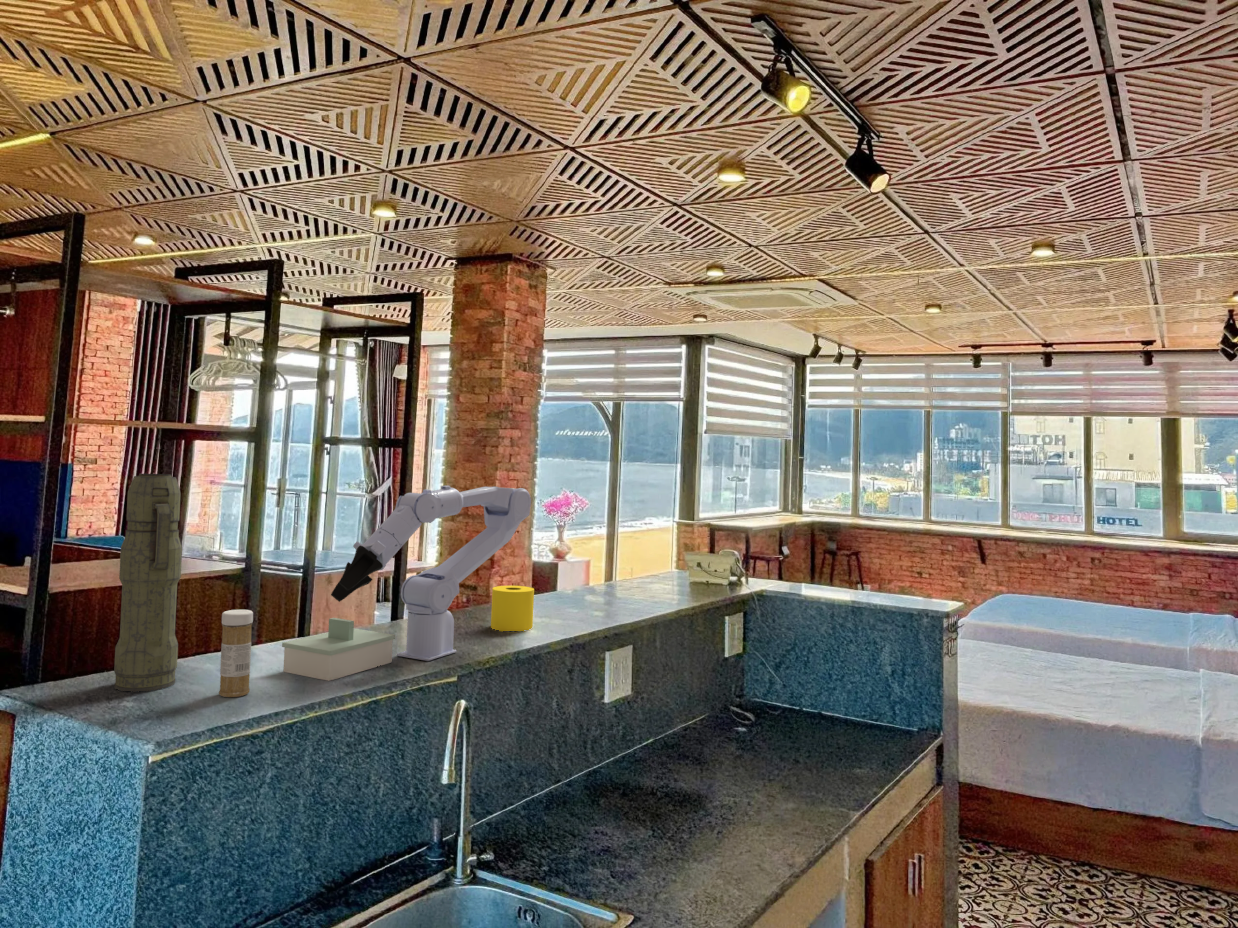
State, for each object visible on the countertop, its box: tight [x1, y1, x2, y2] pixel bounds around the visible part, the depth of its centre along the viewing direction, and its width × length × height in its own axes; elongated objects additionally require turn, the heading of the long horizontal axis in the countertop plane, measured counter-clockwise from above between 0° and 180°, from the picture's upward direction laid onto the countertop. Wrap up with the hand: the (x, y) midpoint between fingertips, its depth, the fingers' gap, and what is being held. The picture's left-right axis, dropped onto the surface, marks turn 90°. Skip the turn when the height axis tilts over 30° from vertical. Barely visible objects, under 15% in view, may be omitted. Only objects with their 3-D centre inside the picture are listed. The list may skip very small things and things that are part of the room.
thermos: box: [113, 473, 183, 693], centre depth 131 cm, size 9×12×35 cm
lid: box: [281, 617, 396, 656], centre depth 147 cm, size 17×12×5 cm
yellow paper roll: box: [490, 585, 535, 632], centre depth 190 cm, size 10×10×9 cm
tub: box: [283, 639, 394, 682], centre depth 147 cm, size 16×11×4 cm
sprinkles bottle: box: [218, 609, 254, 698], centre depth 128 cm, size 5×5×14 cm
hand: (339, 592), depth 142 cm, fingers open, 7 cm apart
